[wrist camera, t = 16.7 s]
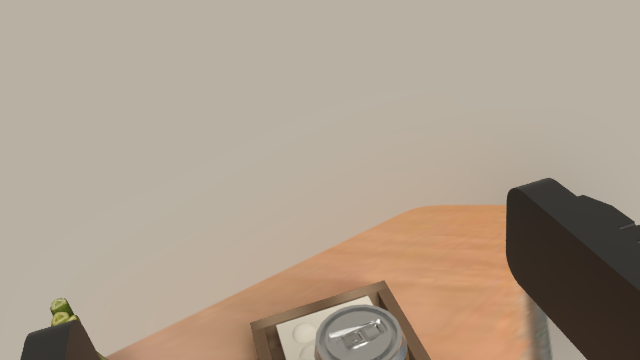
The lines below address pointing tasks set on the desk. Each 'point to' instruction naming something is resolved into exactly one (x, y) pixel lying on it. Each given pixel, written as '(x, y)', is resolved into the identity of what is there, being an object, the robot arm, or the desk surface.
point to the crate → (377, 293)
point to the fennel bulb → (64, 315)
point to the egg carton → (307, 331)
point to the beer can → (360, 335)
